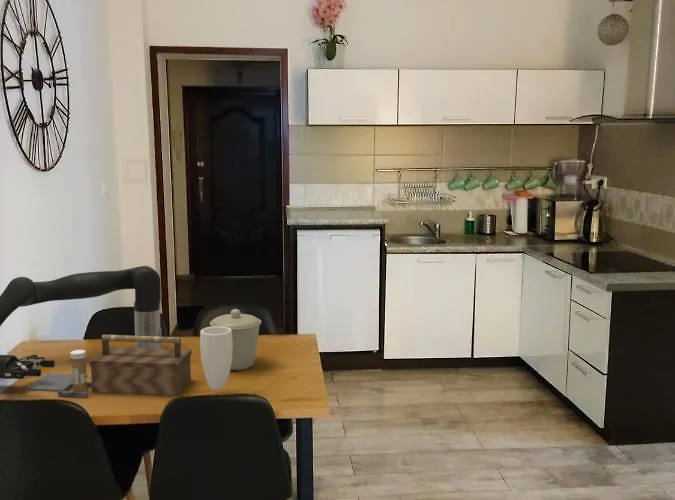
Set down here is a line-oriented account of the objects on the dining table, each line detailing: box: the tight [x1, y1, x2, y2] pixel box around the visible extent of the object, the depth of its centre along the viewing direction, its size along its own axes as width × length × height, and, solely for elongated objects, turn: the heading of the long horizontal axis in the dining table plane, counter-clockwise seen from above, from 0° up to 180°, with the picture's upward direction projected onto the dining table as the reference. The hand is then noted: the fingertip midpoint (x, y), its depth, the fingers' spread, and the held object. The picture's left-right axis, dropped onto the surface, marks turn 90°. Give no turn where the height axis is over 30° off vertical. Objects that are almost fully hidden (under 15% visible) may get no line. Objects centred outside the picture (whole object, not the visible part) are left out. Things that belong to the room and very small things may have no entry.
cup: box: [199, 326, 233, 391], centre depth 209 cm, size 10×10×22 cm
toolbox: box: [57, 334, 192, 399], centre depth 215 cm, size 37×19×17 cm, turn 86°
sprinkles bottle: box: [69, 349, 88, 393], centre depth 211 cm, size 5×5×13 cm
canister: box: [209, 308, 262, 371], centre depth 237 cm, size 18×18×21 cm
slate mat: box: [25, 373, 88, 392], centre depth 219 cm, size 14×14×1 cm
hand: (47, 368), depth 212 cm, fingers open, 8 cm apart
